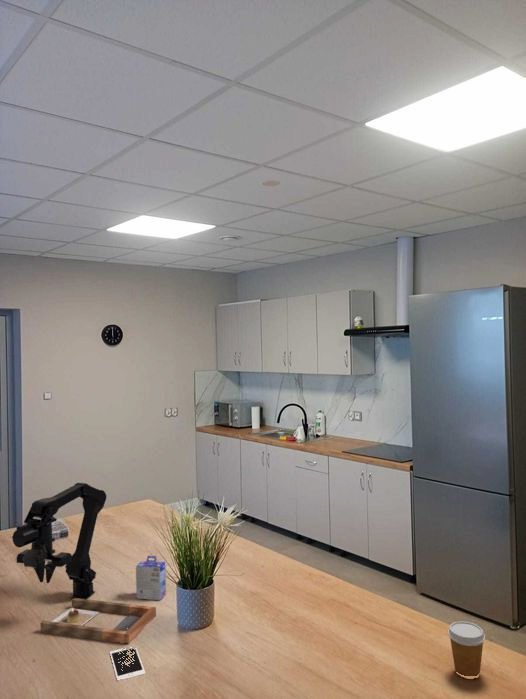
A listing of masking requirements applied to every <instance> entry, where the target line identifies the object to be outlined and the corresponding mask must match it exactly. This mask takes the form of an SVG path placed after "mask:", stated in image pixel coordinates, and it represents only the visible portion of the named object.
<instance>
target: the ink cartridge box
mask: <svg viewBox="0 0 526 699" xmlns="http://www.w3.org/2000/svg"><path fill="white" fill-rule="evenodd" d="M151 559H153V560H151ZM135 575H136V576H135V585H136V587H135V588H136V599H140V600H154V601H162V599H163V598H164V597H165V596H166V595H167V582H166V581H167V579H166V575H167V573H166V562H165V561H157V556H156V555H147V557H146V561H143V560H142V561H140V562H139V563H137V565H135Z"/></svg>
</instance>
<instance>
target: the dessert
mask: <svg viewBox="0 0 526 699" xmlns="http://www.w3.org/2000/svg"><path fill="white" fill-rule="evenodd" d="M99 613H100V612H99V611H91V610H82V609H75V607H74V608H72V607H70V608H69V609H67V610H66V611H64V612H63V613H62V614H60V615H59V616H57V617H56V618H55V619H52V620H51V621H50V622H58V623H59V621H61V620H62V619H63V618H64V617H67V619H66V624H75V623H79V622H80V620H81V619H82V617H81V615H80V614H84V615H85V614H86V615H91V616H90V617H89V618H90V619H89V618H88V619H87V620H86V621H84V622H83V623H82V624H80V625H81V626H85V624H86V623H87V622H89V621H90V620H91V619H93V618H94V617H95V616H97V615H98V614H99Z"/></svg>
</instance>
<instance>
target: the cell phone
mask: <svg viewBox="0 0 526 699" xmlns="http://www.w3.org/2000/svg"><path fill="white" fill-rule="evenodd" d="M129 647H130V646H129ZM123 648H125V649H123ZM130 648H131V649H132V650H131V649H129V650H130V651H131V652H132V653H133V651H134V652H135V654H134V655H132V656H131V657H132V658H133V656H134V658H133V659H134V660H135V661H133V660H132V658H130V657H129V655H127V654H126V653H127V651H128V650H126V647H122V648H119V649H118V648H117V649H114V650H111V651H109V656H111V657H110V660H111V659H112V660H111V664H112V663H113V664H112V667H114V668H113V672H114V674H115V675H114V676H115V678H117V679H116V681H117V680H120V679H125V680H128V679H127V678H129V679H131V677H133V678H136V677H135V676H137V677H139V676H143V674H144V675H145V674H146V671H145V667H144V665H143V662H142V660H141V658H140V657H141V656H140V655H139V652H138V649H137V647H136V648H135V650H134V649H133V648H132V647H130ZM122 649H123V650H124V651H123V650H122ZM121 651H122V652H123V653H124V654H123V653H122V652H121ZM119 652H120V653H121V654H119ZM128 652H129V651H128ZM132 653H130V654H132ZM118 654H119V655H118ZM126 655H127V656H126ZM123 656H125V657H123ZM122 657H123V658H124V659H123V658H122ZM128 657H129V658H130V659H131V660H132V661H133V662H131V661H130V659H128ZM120 658H121V659H120ZM126 658H127V659H128V660H129V661H130V662H131V663H130V664H128V665H129V666H130V667H129V666H127V665H125V663H124V661H125V660H126ZM118 659H119V660H118ZM128 660H126V661H127V662H129V661H128ZM120 661H121V662H120ZM126 661H125V662H126ZM118 662H120V663H118ZM122 662H123V663H124V664H122ZM127 662H126V663H127ZM132 663H134V664H132ZM121 664H122V665H123V666H122V665H121ZM122 667H123V668H122ZM121 669H122V670H123V671H122V670H121Z"/></svg>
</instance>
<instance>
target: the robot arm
mask: <svg viewBox="0 0 526 699" xmlns="http://www.w3.org/2000/svg"><path fill="white" fill-rule="evenodd" d="M78 498H81V499H82V504H81V505H82V508H83V511H84V512H83V517H82V521H81V525H80V530H79V534H78V538H77V543H76V547H75V551H74V552H73V554H71V553H70V552H63V551H61V552H60V553H58V554H55V553H56V549H54V548H53V542H55V541H56V538H55V537H53V523H54V522H57V520H58V519H57V518H55V517H54V515H56V514H57V513H58V511H59V509H60V508H62V507H64V506H66V505H67V504H70V503H71V502H72V501H74V500H76V499H78ZM106 501H107V494H106V492H105V490H102V489H99V488H96V487H93V486H91V485H89V484H88V483H86V482H85V483H84V482H76V483H74V484H73V485H72V486H70V487H68V488H67V489H65V490H63V491H60V492H59V493H57V494H55V495H53V496H50V497H45V498H44V497H43V498H40V499H38V500H34V502H32V503H31V506H30V508H29V511H28V512H27V515H26V517H25V518H24V521H23V524H22V525H17V526H16V530H15V531H14V532H13V534H12V542H13V545H14V547H16V548H18V549H19V548H22V547H25V546H28V545H30V544H31V548H30V549H29V548H27V549H25V550H23V551H21V552H18V554H17V555H16V563H18V564H23V565H24V567H26V568H33V570H34V572H35V574H36V576H37V579H38V580H39V582H40V583H44V579H45V580H46V583H47V584H49V583H50V582H51V580H52V577H53V575H54V572H55V569H56V568H61V567H65V573H66V575H67V577H68V578H69V580H70V581H72V595H71V596H70V599H71V600H72V599H73V598H79V599H88V598H90V597H91V596H92V595H94V594H95V592H96V591H95V590H94V582H93V581H94V580H95V579H96V576H97V572H96V571H95V570H94V569H93V568H92V565H91V564H92V560H91V557H90V550H91V545H92V541H93V536H94V532H95V527H96V523H97V519H98V515H99V513H100V512H101V511H102V510H103V509H104V506H105V503H106Z"/></svg>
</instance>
